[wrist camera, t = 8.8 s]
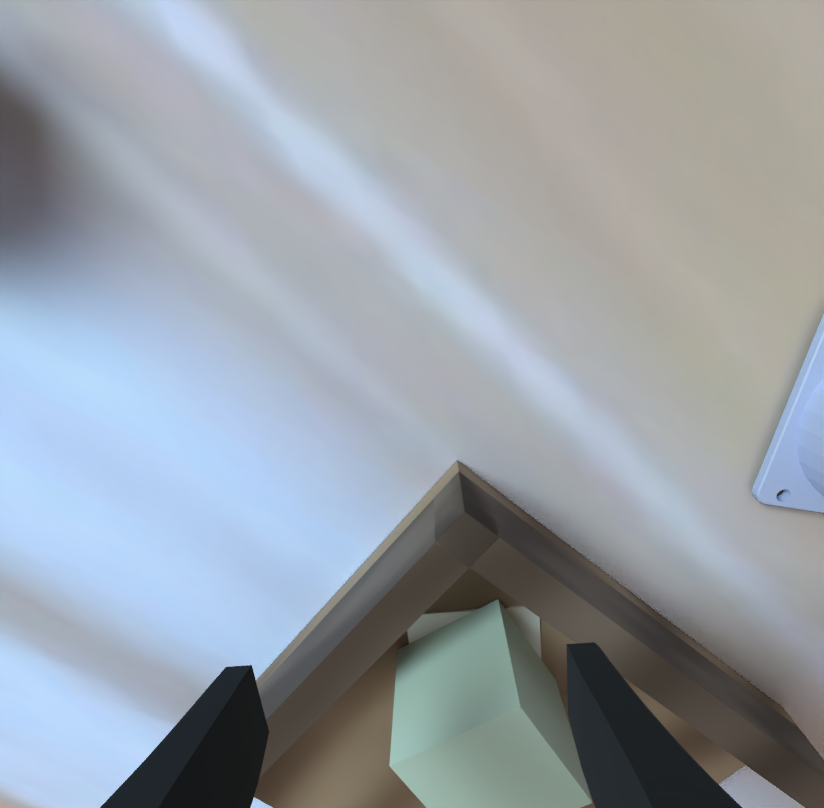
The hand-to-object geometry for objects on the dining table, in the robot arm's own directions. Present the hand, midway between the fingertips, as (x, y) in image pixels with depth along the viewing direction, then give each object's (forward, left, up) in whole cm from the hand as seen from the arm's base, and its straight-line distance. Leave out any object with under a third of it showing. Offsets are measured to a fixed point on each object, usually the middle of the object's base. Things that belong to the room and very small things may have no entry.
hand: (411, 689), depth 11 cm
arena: (-5, +12, -9) cm, 16 cm away
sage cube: (-4, +7, -8) cm, 12 cm away
